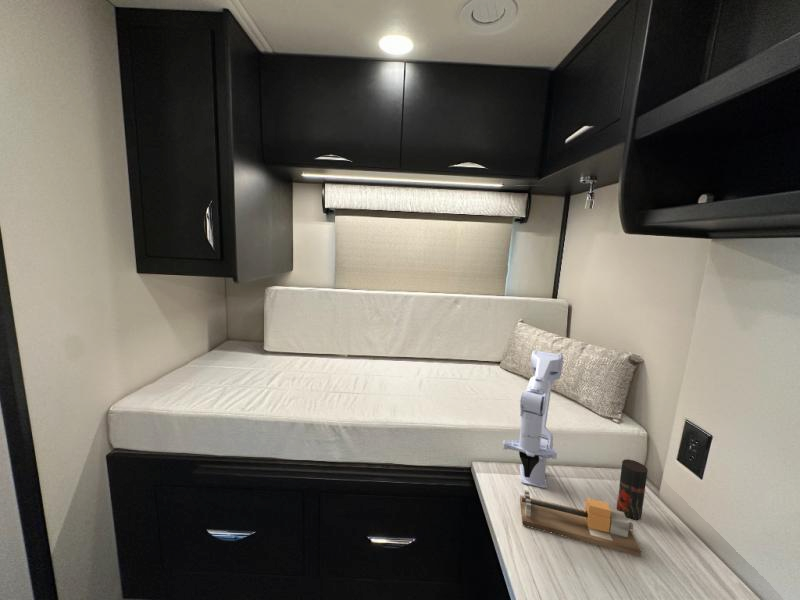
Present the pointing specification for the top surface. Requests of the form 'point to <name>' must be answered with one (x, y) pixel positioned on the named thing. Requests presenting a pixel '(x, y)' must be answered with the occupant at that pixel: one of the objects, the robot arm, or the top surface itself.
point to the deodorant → (632, 489)
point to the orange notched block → (597, 515)
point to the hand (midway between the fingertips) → (526, 475)
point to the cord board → (578, 524)
